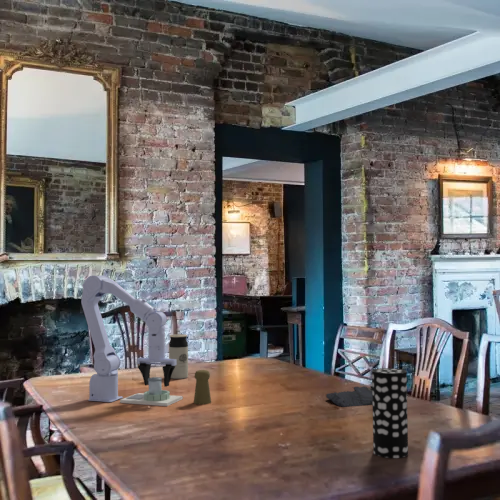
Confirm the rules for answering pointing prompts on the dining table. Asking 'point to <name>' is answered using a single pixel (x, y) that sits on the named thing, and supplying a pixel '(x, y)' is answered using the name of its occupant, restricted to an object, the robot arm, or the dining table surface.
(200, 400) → the cork
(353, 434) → the dining table surface
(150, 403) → the white base plate
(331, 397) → the dark slate chunk
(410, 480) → the dining table surface
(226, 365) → the dining table surface
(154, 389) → the tube
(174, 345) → the travel mug
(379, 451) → the white-spotted black cylinder
